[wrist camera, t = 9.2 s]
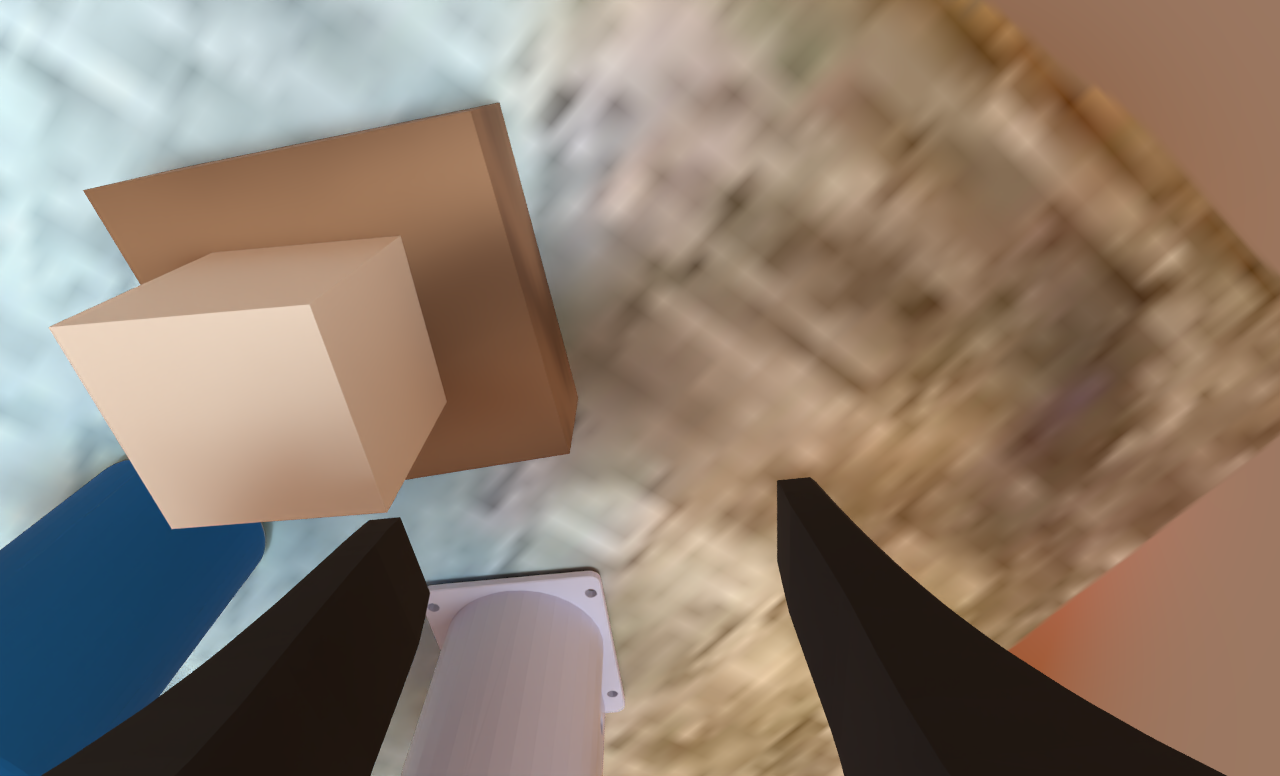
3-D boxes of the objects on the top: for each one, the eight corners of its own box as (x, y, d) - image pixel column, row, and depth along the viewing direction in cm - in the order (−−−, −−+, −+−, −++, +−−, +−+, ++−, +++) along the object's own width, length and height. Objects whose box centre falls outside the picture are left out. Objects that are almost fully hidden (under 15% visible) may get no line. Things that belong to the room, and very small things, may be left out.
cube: (446, 401, 18) (387, 512, 13) (283, 415, 18) (171, 529, 14) (400, 235, 15) (308, 304, 11) (212, 252, 16) (48, 327, 11)
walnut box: (579, 392, 22) (569, 453, 19) (327, 434, 23) (272, 500, 19) (502, 101, 18) (470, 110, 14) (188, 166, 18) (83, 190, 15)
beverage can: (88, 526, 24) (-322, 874, 14) (129, 416, 22) (-332, 740, 11) (245, 590, 26) (-11, 940, 16) (299, 496, 24) (37, 837, 13)
